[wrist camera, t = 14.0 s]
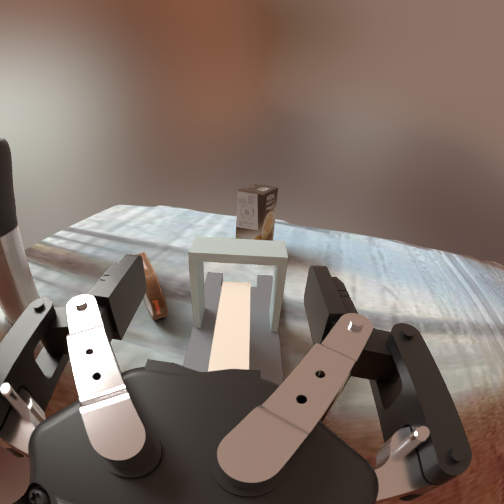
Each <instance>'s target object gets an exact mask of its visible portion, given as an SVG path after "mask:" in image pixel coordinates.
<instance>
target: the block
mask: <svg viewBox="0 0 504 504" xmlns="http://www.w3.org/2000/svg"><path fill="white" fill-rule="evenodd" d="M250 288H251V283H244V282H226V281H223V284H222V289H221V295H220V301H219V307H218V312H217V318H216V324H215V330H214V336H213V342H212V348H211V354H210V361H209V367H208V372H209V371H217V370H226V369H247V370H249V342H250Z"/></svg>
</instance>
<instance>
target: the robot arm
mask: <svg viewBox="0 0 504 504" xmlns="http://www.w3.org/2000/svg"><path fill="white" fill-rule="evenodd" d="M145 293H146V278H145V272H144V265H143V259H142V257H141V256H140V255H128V254H127V255H125V256H124V257H123V259H122V260H121V261H120V262H119V264H117V263H116V264H115V265H113V266H112V267H110V268H109V269H108V270H107V271H106V272H105V273H104V276H102V277H101V278H100V281H98V282H97V283H96V284H95V286H94V287H93V288H92V289H91V291H90V292H89V293H88V295H79V296H76V297H74V298H73V299H71V300H70V301H69V302H68V304H67V307H57V308H54V306H53V303H52V301H51V300H50V299H49V298H40V297H39V295H38V292H37V289H36V286H35V283H34V280H33V277H32V274H31V271H30V268H29V265H28V262H27V258H26V255H25V251H24V247H23V244H22V240H21V236H20V232H19V227H18V222H17V217H16V206H15V198H14V190H13V179H12V160H11V152H10V147H9V145H8V142H7V141H6V140H5V139H3V138H0V306H1V308H2V310H3V313H4V315H5V316H6V317H7V319H8V321H9V322H10V323H11V324H13V326H12V328H11V329H10V331H9V332H8V333H7V335H6V336H5V338H4V339H3V340H2V342H1V343H0V445H1V446H2V447H4V448H6V449H7V450H8V451H9V452H11V453H12V454H13V455H15V456H17V457H24V456H26V457H28V458H29V462H30V481H29V487H28V489H27V491H26V493H25V494H24V495H23V496H22V497H21V498H20V499H19V500H18V501H16V502H15V503H13V504H379V503H383V502H387V501H390V500H394V499H398V498H399V499H400V500H403V501H411V500H414V499H416V498H418V497H420V496H422V495H424V494H426V493H428V492H430V491H432V490H434V489H436V488H437V487H439V486H441V485H443V484H445V483H446V482H448V481H450V480H451V479H453V478H455V477H456V476H458V475H460V474H461V473H463V472H464V471H465V470H466V469H467V468H468V467H469V465H470V462H471V458H472V452H471V448H470V445H469V442H468V439H467V436H466V433H465V431H464V428H463V425H462V423H461V420H460V417H459V415H458V412H457V410H456V407H455V405H454V402H453V400H452V398H451V395H450V393H449V391H448V389H447V386H446V384H445V382H444V380H443V378H442V375H441V373H440V371H439V369H438V367H437V365H436V363H435V361H434V359H433V357H432V355H431V353H430V351H429V349H428V347H427V345H426V343H425V341H424V339H423V338H422V336H421V334H420V332H419V331H418V330H417V329H416V328H415V327H413V326H411V325H409V324H405V323H399V324H396V325H394V326H393V328H392V330H391V332H388V331H383V330H378V329H374V328H373V326H372V323H371V322H370V321H369V319H367V318H366V317H364V316H362V315H360V314H358V313H357V311H356V308H355V306H354V304H353V302H352V300H351V298H350V297H349V294H348V292H347V290H346V288H345V286H344V283H343V282H341V281H340V280H339V279H338V278H337V277H331V275H330V273H329V271H328V268H327V267H326V266H310V268H309V273H308V278H307V283H306V288H305V294H304V306H305V311H306V315H307V319H308V323H309V327H310V332H311V336H312V340H313V345H314V346H313V347H312V349H311V350H310V351H309V352H308V353H307V355H306V356H305V357H304V358H303V360H302V361H301V362H300V363H299V364H298V365H297V367H296V368H295V369H294V370H293V371H292V373H291V374H290V375H289V376H288V377H287V378H286V379H285V381H284V382H283V383H282V384H281V385H278V384H276V383H274V382H272V381H269V380H266V379H262V378H261V375H260V370H247V369H226V370H217V371H209V372H199V371H196V370H193V369H190V368H187V367H184V366H181V365H178V364H175V363H169V362H162V361H156V360H149V359H148V360H147V363H146V366H145V367H141V368H135V369H131V370H128V371H125V372H123V373H122V372H121V370H120V367H119V365H118V362H117V360H116V357H115V354H114V352H113V349H112V346H111V344H110V342H111V340H112V339H117V340H122V338H123V336H124V334H125V332H126V330H127V328H128V326H129V324H130V322H131V320H132V318H133V316H134V315H135V313H136V311H137V309H138V307H139V305H140V303H141V301H142V299H143V298H144V296H145ZM40 340H41V342H42V344H43V346H44V347H43V349H42V350H41V352H40V354H39V355H38V357H37V359H36V361H35V359H34V349H35V347H36V345H37V344H38V342H39V341H40ZM69 358H70V359H71V364H72V369H73V374H74V378H75V382H76V387H77V391H78V395H79V398H80V399H79V400H77V401H75V402H74V403H72V404H70V405H69V406H67V407H65V408H64V409H62V410H60V411H59V412H57V413H55V414H54V415H52V416H50V417H48V418H47V419H45V413H44V412H45V410H46V407H47V405H48V402H49V400H50V398H51V395H52V393H53V391H54V389H55V387H56V384H57V382H58V380H59V378H60V376H61V374H62V372H63V370H64V368H65V366H66V363H67V361H68V360H69ZM351 376H354V377H359V378H365V379H369V381H370V385H371V388H372V392H373V396H374V400H375V404H376V408H377V412H378V416H379V420H380V424H381V429H382V433H383V438H384V442H385V443H384V444H383V445H382V446H381V447H380V448H379V450H378V452H377V457H376V460H377V463H376V467H375V469H374V468H373V467H372V466H371V464H370V463H369V462H368V461H367V460H366V459H365V458H363V457H362V456H361V455H360V454H358V453H357V452H356V451H355V450H354V449H352V448H351V447H350V446H349V445H348V444H346V443H345V442H344V441H343V440H342V439H341V438H339V437H338V436H337V435H336V434H335V433H334V432H332V431H331V430H330V429H329V428H328V427H327V426H326V425H324V424H323V421H324V420H325V418H326V417H327V415H328V414H329V412H330V410H331V409H332V407H333V405H334V404H335V402H336V401H337V399H338V397H339V396H340V394H341V392H342V391H343V389H344V387H345V386H346V384H347V382H348V381H349V379H350V377H351Z"/></svg>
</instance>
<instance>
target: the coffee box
mask: <svg viewBox="0 0 504 504" xmlns="http://www.w3.org/2000/svg"><path fill="white" fill-rule="evenodd" d="M277 192H278V188H276V187H271V186H265V185H256V184H255V185H252V186H249V187H246V188H243V189H240V190H238V202H237V221H236V239H251V240H269V241H273V234H274V224H275V214H276V202H277Z"/></svg>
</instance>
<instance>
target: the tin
mask: <svg viewBox="0 0 504 504" xmlns="http://www.w3.org/2000/svg"><path fill="white" fill-rule="evenodd" d="M137 255H140V256H141V257H142V259H143V265H144V272H145V278H146V293H145V296H144V301H145V303H146V306H147V308H148V310H149V313H150V315H151V317H152V318H153V320H156V319H159V318H163V317H167V316H168V311H167V306H166V303H165V299H164V296H163V292H162V289H161V286H160V284H159V281H158V278H157V276H156V274H155V272H154V270H153V268H152V266H151V264H150V262H149V260H148V258H147V256H146V254H145V252H143V253H141V254H137Z"/></svg>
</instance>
